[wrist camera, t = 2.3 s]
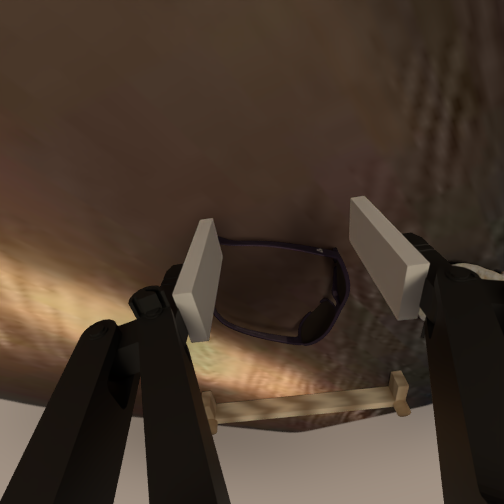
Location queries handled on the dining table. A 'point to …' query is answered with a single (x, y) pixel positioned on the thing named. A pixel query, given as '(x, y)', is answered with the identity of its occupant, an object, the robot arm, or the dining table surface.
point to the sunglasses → (313, 322)
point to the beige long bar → (309, 403)
